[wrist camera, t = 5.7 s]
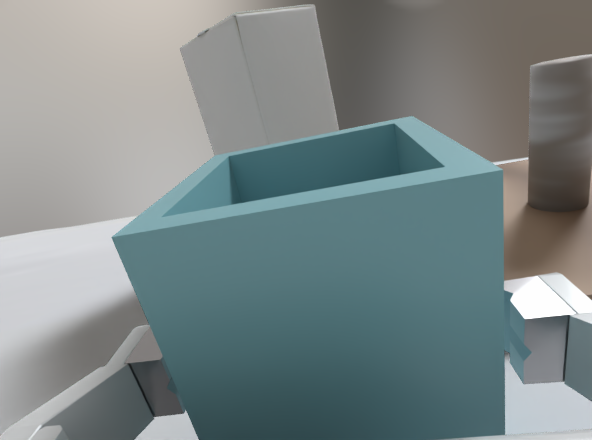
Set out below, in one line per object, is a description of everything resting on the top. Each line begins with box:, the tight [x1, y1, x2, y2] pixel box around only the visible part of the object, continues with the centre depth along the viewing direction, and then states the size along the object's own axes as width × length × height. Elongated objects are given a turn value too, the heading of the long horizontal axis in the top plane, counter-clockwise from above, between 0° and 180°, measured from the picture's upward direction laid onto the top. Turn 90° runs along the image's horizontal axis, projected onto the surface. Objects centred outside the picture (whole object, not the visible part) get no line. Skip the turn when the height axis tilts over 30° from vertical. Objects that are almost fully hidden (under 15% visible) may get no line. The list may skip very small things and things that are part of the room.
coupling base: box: [496, 54, 592, 300], centre depth 21 cm, size 18×18×10 cm
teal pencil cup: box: [112, 116, 505, 440], centre depth 10 cm, size 6×6×10 cm
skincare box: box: [180, 5, 339, 155], centre depth 27 cm, size 8×7×16 cm
